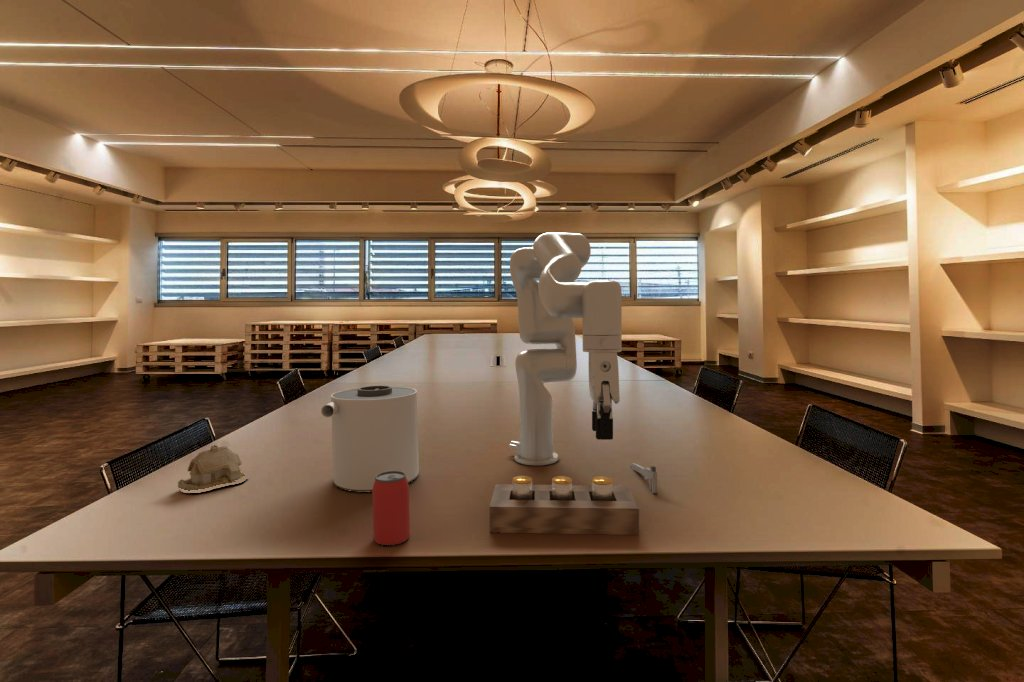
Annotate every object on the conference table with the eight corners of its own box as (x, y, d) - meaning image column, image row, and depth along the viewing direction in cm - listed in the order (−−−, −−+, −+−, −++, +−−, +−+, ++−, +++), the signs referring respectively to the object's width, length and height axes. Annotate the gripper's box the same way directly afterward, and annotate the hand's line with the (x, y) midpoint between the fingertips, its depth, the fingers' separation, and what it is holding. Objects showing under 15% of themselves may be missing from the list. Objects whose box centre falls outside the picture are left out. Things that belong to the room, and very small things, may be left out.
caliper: (657, 495, 108) (657, 468, 108) (652, 495, 108) (653, 468, 108) (634, 466, 129) (634, 444, 129) (630, 467, 129) (630, 444, 129)
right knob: (593, 506, 93) (593, 483, 93) (591, 498, 97) (591, 476, 96) (613, 506, 93) (613, 483, 92) (610, 498, 96) (610, 476, 96)
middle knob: (552, 505, 93) (552, 482, 93) (551, 497, 97) (551, 475, 97) (572, 506, 93) (572, 483, 93) (571, 498, 97) (571, 476, 97)
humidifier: (410, 493, 111) (408, 394, 110) (319, 495, 110) (316, 395, 109) (424, 464, 132) (422, 381, 131) (348, 466, 132) (346, 382, 130)
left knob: (512, 505, 94) (511, 482, 93) (513, 497, 98) (512, 475, 97) (532, 505, 93) (531, 482, 93) (532, 497, 97) (532, 475, 97)
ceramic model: (229, 474, 127) (228, 437, 126) (256, 480, 121) (254, 441, 121) (171, 491, 114) (169, 450, 114) (198, 499, 109) (196, 456, 109)
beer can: (391, 550, 84) (389, 484, 83) (366, 541, 87) (364, 477, 86) (417, 536, 89) (416, 473, 88) (392, 528, 93) (391, 467, 92)
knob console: (489, 532, 90) (489, 506, 90) (495, 507, 102) (495, 484, 102) (638, 534, 88) (638, 508, 88) (627, 508, 100) (627, 485, 100)
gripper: (629, 346, 84) (629, 446, 85) (614, 341, 101) (614, 424, 102) (586, 347, 85) (587, 446, 86) (579, 341, 102) (579, 424, 103)
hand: (602, 433), depth 94 cm, fingers open, 5 cm apart
